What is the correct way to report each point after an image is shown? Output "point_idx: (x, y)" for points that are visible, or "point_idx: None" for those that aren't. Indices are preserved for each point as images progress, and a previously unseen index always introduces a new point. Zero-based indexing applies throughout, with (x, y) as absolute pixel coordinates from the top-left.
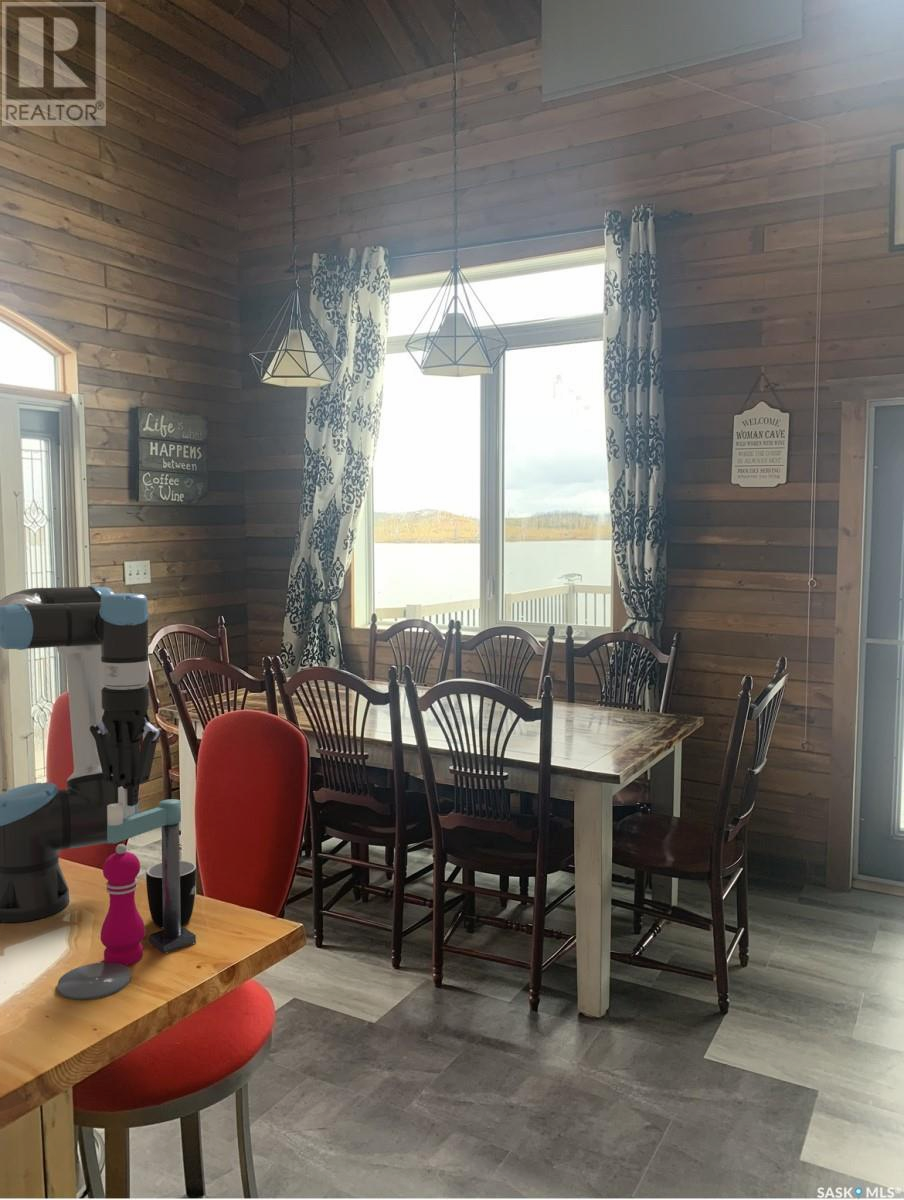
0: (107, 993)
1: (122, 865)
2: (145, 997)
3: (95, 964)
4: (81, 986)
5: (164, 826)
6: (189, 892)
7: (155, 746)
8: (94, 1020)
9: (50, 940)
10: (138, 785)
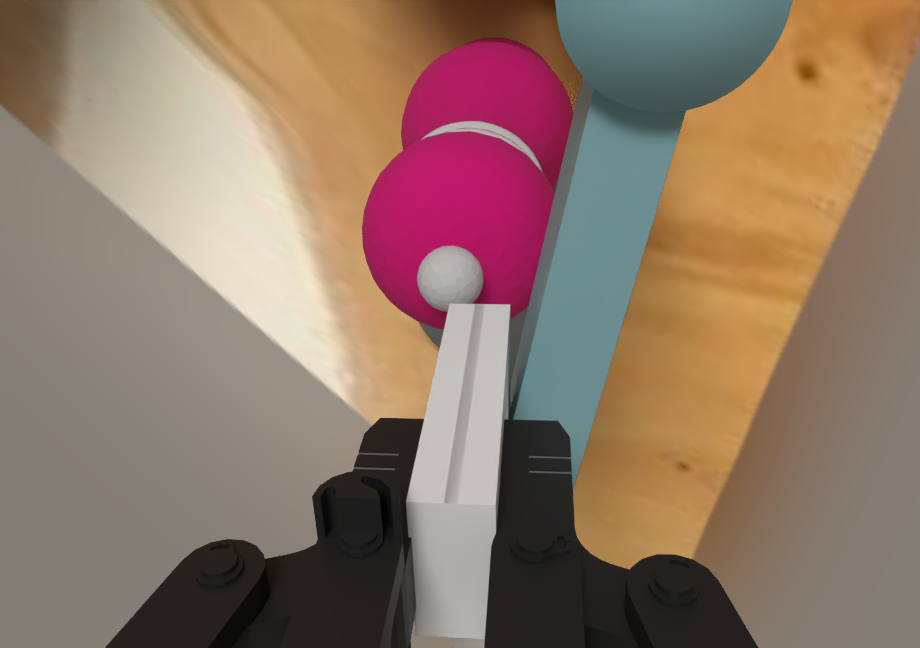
0: None
1: (517, 313)
2: (727, 306)
3: None
4: (513, 336)
5: None
6: None
7: None
8: (654, 437)
9: (136, 65)
10: (581, 549)
